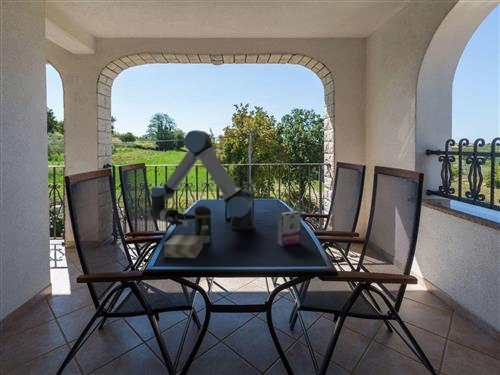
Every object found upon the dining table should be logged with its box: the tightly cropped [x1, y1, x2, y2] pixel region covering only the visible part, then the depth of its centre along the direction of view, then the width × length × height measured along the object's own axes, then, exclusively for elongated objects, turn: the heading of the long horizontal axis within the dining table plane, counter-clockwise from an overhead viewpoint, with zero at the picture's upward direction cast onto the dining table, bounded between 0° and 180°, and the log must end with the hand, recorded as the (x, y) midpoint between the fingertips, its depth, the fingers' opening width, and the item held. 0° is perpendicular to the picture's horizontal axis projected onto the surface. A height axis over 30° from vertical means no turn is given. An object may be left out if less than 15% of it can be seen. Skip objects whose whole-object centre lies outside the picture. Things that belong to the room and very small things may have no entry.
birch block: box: [163, 234, 204, 259], centre depth 143 cm, size 14×14×6 cm
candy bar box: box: [277, 210, 302, 248], centre depth 155 cm, size 11×5×16 cm, turn 117°
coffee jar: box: [194, 205, 212, 245], centre depth 158 cm, size 10×8×19 cm
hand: (197, 221), depth 159 cm, fingers open, 13 cm apart
